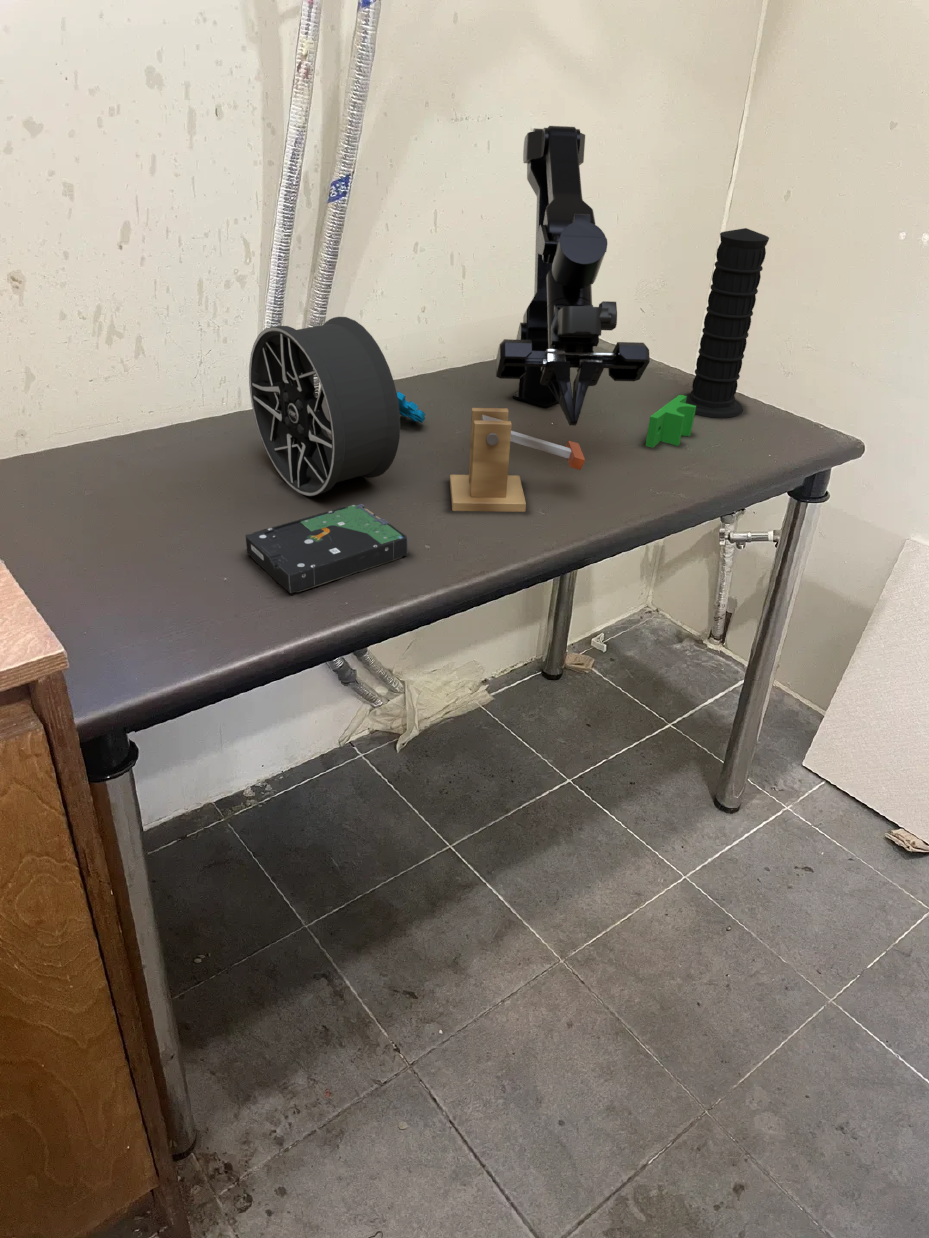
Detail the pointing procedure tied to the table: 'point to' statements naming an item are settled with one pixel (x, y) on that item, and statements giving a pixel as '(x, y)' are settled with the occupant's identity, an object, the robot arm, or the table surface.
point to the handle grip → (727, 323)
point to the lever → (548, 446)
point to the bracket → (488, 468)
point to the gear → (409, 409)
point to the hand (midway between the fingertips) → (573, 424)
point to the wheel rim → (351, 393)
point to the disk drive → (325, 547)
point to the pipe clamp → (671, 422)
